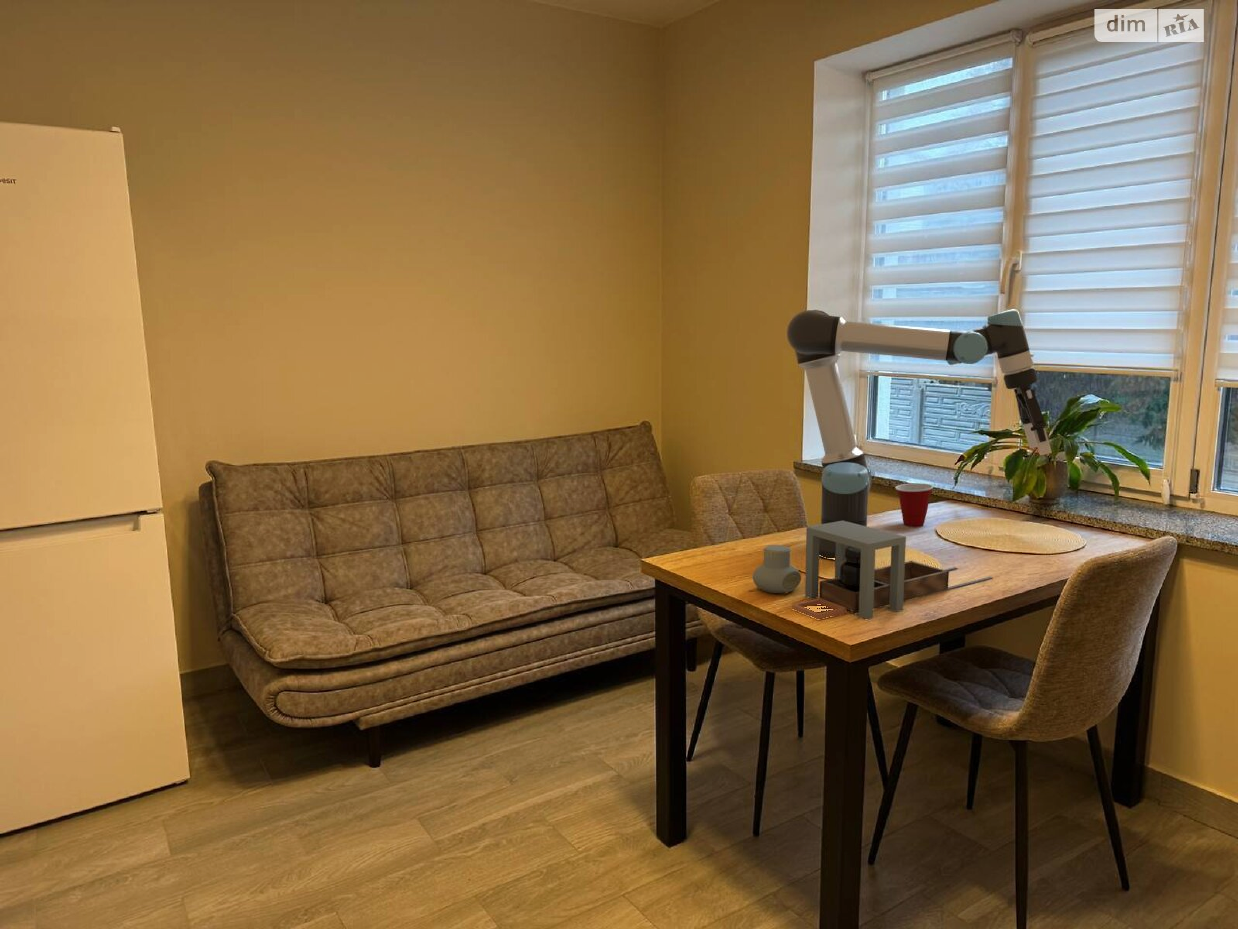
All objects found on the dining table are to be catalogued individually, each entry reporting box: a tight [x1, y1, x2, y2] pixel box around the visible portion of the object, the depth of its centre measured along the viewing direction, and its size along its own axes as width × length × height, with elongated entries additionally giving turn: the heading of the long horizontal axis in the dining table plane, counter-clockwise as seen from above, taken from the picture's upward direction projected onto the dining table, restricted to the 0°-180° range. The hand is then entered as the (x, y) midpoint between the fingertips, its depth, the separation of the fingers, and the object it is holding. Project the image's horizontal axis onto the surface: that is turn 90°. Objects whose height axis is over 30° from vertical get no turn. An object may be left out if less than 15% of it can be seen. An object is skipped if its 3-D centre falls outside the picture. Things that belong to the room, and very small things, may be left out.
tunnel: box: [804, 521, 994, 620], centre depth 197 cm, size 46×18×16 cm, turn 121°
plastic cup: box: [894, 482, 934, 528], centre depth 258 cm, size 11×11×12 cm
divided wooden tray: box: [818, 560, 950, 612], centre depth 194 cm, size 29×11×4 cm, turn 121°
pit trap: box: [791, 597, 848, 620], centre depth 184 cm, size 8×8×1 cm
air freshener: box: [752, 544, 802, 594], centre depth 198 cm, size 11×8×10 cm
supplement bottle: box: [839, 547, 861, 592], centre depth 188 cm, size 7×7×12 cm
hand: (1040, 450), depth 221 cm, fingers open, 13 cm apart
